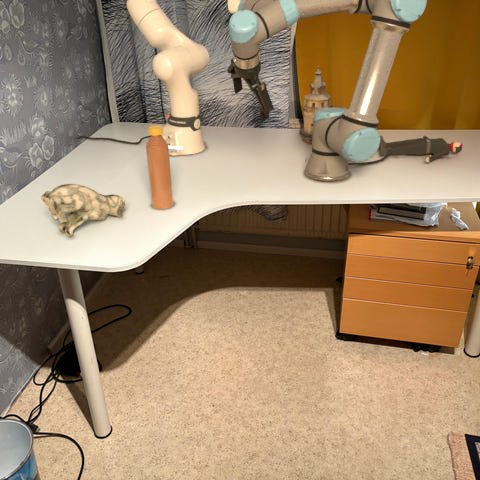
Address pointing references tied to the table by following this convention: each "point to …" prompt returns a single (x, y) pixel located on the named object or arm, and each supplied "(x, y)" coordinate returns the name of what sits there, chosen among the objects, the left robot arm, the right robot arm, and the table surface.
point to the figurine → (80, 205)
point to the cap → (155, 130)
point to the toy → (420, 147)
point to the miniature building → (314, 105)
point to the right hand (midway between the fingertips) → (251, 104)
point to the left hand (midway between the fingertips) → (250, 25)
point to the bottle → (159, 172)
